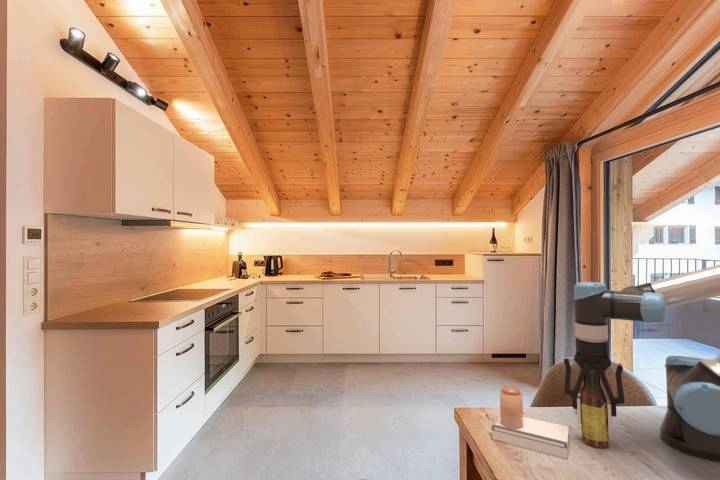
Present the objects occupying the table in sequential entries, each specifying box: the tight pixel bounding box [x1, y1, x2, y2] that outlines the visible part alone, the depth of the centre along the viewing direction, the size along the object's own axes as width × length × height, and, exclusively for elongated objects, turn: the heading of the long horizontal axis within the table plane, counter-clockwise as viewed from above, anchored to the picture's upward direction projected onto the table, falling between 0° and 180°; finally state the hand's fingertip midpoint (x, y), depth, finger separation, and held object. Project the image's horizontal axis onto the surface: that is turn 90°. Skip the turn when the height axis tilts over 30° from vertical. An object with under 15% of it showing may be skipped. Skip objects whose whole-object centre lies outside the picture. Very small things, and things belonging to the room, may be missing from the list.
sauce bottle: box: [579, 369, 610, 449], centre depth 97 cm, size 6×6×20 cm
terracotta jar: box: [499, 385, 524, 429], centre depth 102 cm, size 6×6×10 cm
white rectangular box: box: [491, 415, 570, 459], centre depth 100 cm, size 18×13×4 cm
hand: (594, 424), depth 97 cm, fingers closed on sauce bottle, 6 cm apart
